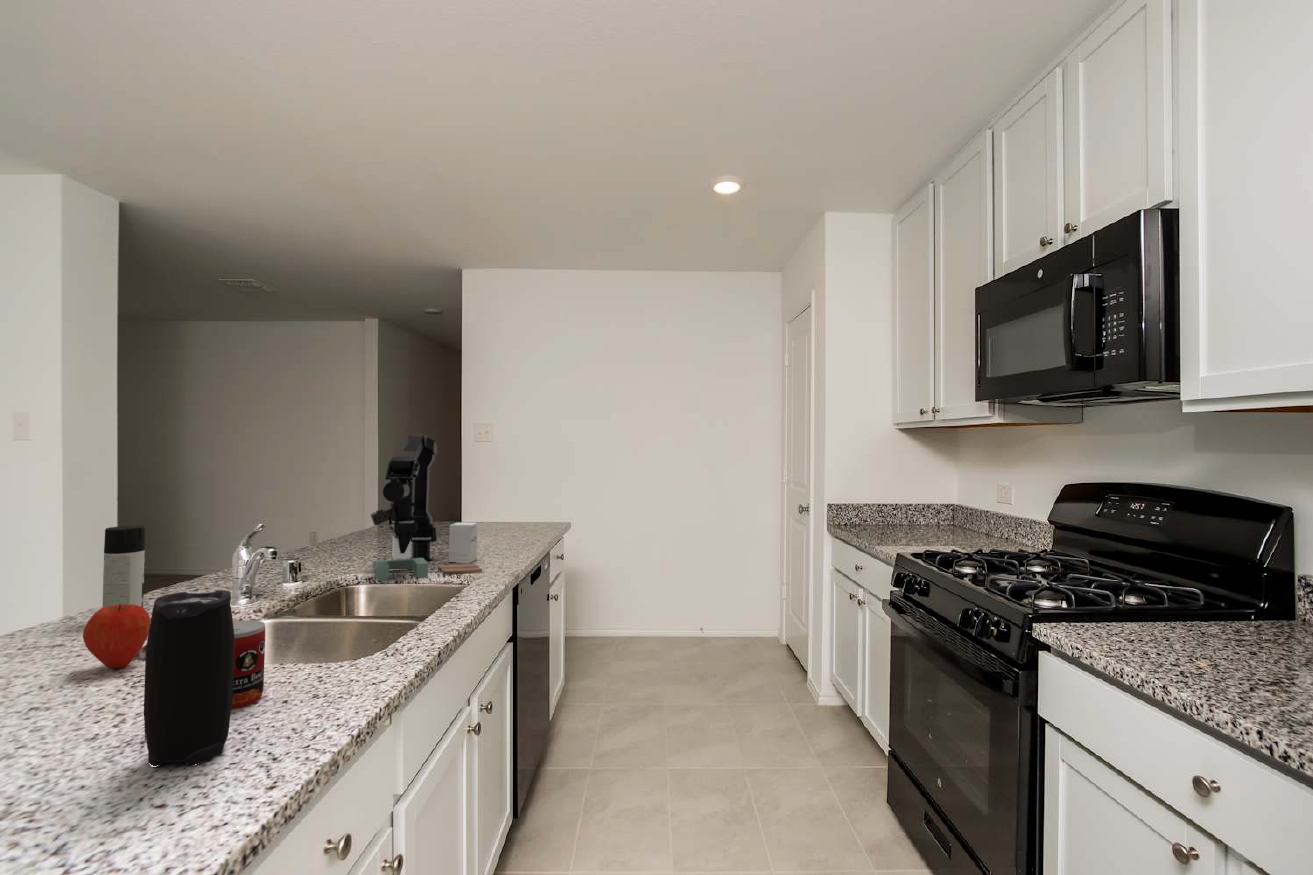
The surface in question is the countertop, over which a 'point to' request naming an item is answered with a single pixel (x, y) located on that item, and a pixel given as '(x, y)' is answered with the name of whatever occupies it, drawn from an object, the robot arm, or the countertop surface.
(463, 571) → the copper plate
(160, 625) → the portable speaker
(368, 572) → the vise
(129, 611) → the apple
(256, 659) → the canned food
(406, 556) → the steel block
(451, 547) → the supplement box
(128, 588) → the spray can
